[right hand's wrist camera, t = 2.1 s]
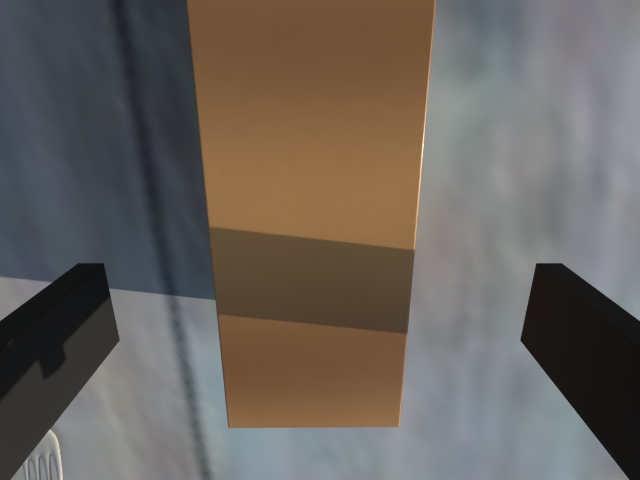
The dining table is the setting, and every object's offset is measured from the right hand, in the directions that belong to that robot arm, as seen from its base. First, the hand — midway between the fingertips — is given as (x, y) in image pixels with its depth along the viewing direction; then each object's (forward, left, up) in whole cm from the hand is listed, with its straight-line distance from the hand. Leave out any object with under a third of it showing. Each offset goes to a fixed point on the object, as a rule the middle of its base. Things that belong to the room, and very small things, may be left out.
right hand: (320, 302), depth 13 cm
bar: (+4, +7, -8) cm, 11 cm away
